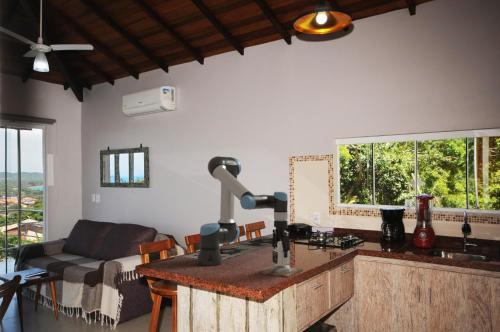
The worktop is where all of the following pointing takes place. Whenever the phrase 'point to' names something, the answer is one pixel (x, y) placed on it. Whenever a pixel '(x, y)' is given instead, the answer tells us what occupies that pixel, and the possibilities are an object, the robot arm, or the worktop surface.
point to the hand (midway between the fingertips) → (280, 262)
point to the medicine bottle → (278, 254)
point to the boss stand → (280, 270)
